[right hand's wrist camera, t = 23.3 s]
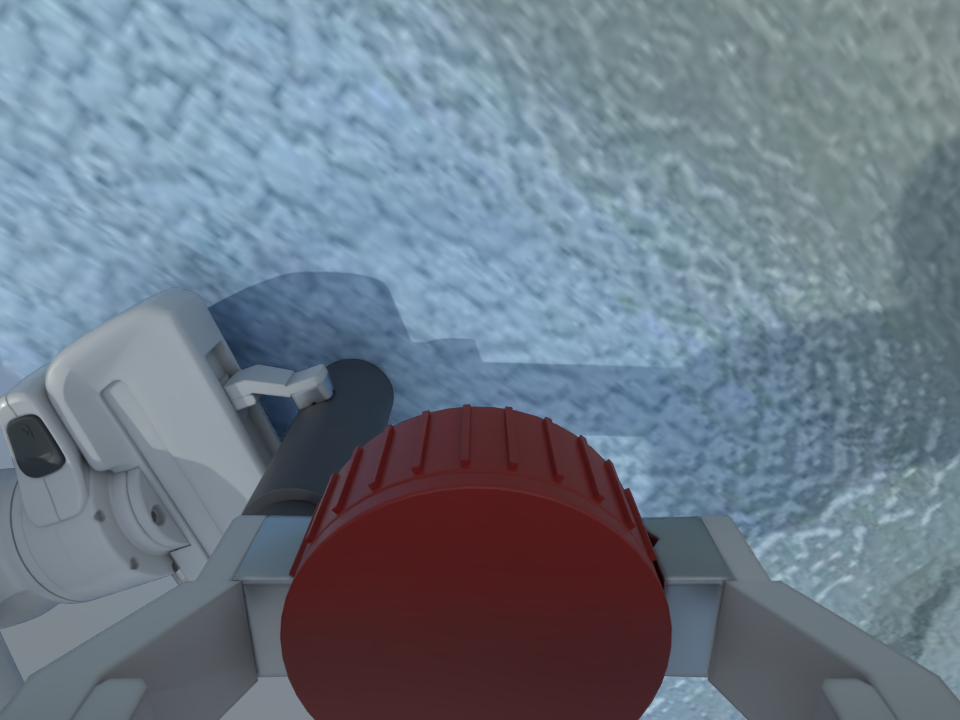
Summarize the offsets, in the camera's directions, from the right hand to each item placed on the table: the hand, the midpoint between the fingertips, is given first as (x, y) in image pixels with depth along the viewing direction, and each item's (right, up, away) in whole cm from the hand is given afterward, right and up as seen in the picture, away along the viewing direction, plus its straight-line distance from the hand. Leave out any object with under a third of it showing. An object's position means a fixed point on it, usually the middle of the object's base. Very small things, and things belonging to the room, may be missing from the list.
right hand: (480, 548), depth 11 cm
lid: (0, -1, -2) cm, 2 cm away
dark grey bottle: (-8, +1, +28) cm, 29 cm away
